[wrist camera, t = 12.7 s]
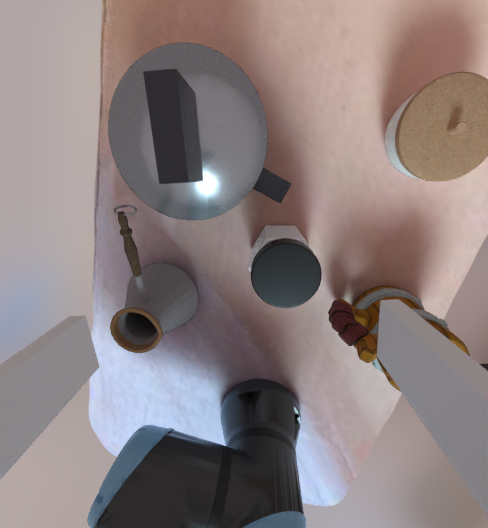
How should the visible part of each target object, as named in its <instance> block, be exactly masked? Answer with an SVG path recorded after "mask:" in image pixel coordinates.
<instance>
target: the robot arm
mask: <svg viewBox="0 0 488 528" xmlns="http://www.w3.org/2000/svg"><path fill="white" fill-rule="evenodd" d="M377 357H378V359H379V360H380V362H381V363H382V365H383V366H384V367H385V369H386V370H387V372H388V373H389V375H390V376H391V378H392V379H393V380H394V382H395V383H396V385H397V386H398V388H399V389H400V391H401V392H402V393H403V395H404V396H405V398H406V399H407V401H408V402H409V404H410V405H411V406H412V408H413V409H414V411H415V412H416V414H417V415H418V417H419V418H420V419H421V421H422V422H423V424H424V425H425V427H426V428H427V430H428V431H429V432H430V434H431V435H432V437H433V438H434V440H435V441H436V443H437V444H438V445H439V447H440V448H441V450H442V451H443V453H444V454H445V456H446V457H447V458H448V460H449V461H450V463H451V464H452V466H453V467H454V469H455V470H456V471H457V473H458V474H459V476H460V477H461V479H462V480H463V481H464V483H465V485H466V486H467V487H468V489H469V490H470V492H471V493H472V494H473V496H474V498H475V499H476V500H477V502H478V503H479V505H480V506H481V507H482V509H483V511H484V512H485V513H486V515H487V516H488V364H478V363H477V362H476V361H474V360H473V359H472V358H471V357H470V356H469V355H467V354H466V353H465V352H464V351H462V350H461V349H460V348H459V347H457V346H456V345H455V344H454V343H453V342H451V341H450V340H449V339H448V338H446V337H445V336H444V335H443V334H441V333H440V332H439V331H438V330H437V329H435V328H434V327H433V326H432V325H430V324H429V323H428V322H427V321H425V320H424V319H423V318H422V317H421V316H419V315H418V314H417V313H416V312H414V311H413V310H412V309H411V308H409V307H408V306H407V305H406V304H404V303H403V302H402V301H401V300H400V299H393V300H380V313H379V329H378V344H377ZM98 368H99V364H98V360H97V356H96V353H95V349H94V345H93V342H92V338H91V334H90V331H89V327H88V324H87V320H86V317H85V316H70V317H68V318H67V319H65V320H64V321H62V322H61V323H60V324H58V325H57V326H55V327H54V328H52V329H51V330H49V331H48V332H47V333H45V334H44V335H42V336H41V337H39V338H38V339H37V340H35V341H34V342H32V343H31V344H29V345H28V346H27V347H25V348H24V349H22V350H21V351H19V352H18V353H17V354H15V355H14V356H12V357H11V358H9V359H8V360H6V361H5V362H4V363H2V364H1V365H0V480H1V479H2V477H3V476H4V475H5V474H6V473H7V472H8V471H9V469H10V468H11V467H12V466H13V465H14V463H16V461H17V460H18V459H19V458H20V457H21V456H22V455H23V453H24V452H25V451H26V450H27V449H28V448H29V447H30V445H31V444H32V443H33V442H34V441H35V440H36V439H37V437H38V436H39V435H40V434H41V433H42V432H43V430H44V429H45V428H46V427H47V426H48V425H49V424H50V422H51V421H52V420H53V419H54V418H55V417H56V416H57V415H58V413H59V412H60V411H61V410H62V409H63V408H64V407H65V405H66V404H67V403H68V402H69V401H70V400H71V398H72V397H73V396H74V395H75V394H76V393H77V392H78V391H79V389H80V388H81V387H82V386H83V385H84V384H85V383H86V381H87V380H88V379H89V378H90V377H91V376H92V375H93V373H94V372H95V371H96V370H97V369H98ZM221 424H222V429H223V434H224V439H225V444H226V446H223V445H221V444H217V443H214V442H210V441H207V440H204V439H200V438H197V437H194V436H190V435H187V434H184V433H181V432H178V431H175V430H174V429H172V428H169V429H167V428H162V427H158V426H154V425H145V426H143V427H141V428H139V429H138V430H137V431H136V432H135V433H134V434H133V435H132V436H131V438H130V439H129V440H128V442H127V443H126V444H125V446H124V447H123V449H122V450H121V452H120V453H119V455H118V457H117V458H116V461H115V462H114V463H113V465H112V467H111V469H110V471H109V472H108V474H107V476H106V478H105V480H104V482H103V483H102V485H101V487H100V490H99V494H98V495H97V497H96V499H95V501H94V503H93V504H92V507H91V509H90V512H89V515H88V520H87V521H88V525H89V526H90V527H91V528H305V527H306V519H305V516H304V512H303V505H302V497H301V490H300V482H299V475H298V467H297V460H296V452H295V449H296V444H297V439H298V434H299V430H300V425H301V415H300V409H299V404H298V402H297V400H296V398H295V396H294V395H293V394H292V393H291V392H290V391H289V390H288V389H287V388H285V387H284V386H282V385H280V384H278V383H275V382H272V381H268V380H250V381H246V382H243V383H241V384H238V385H237V386H235V387H234V388H232V389H231V390H230V391H229V392H228V393H227V395H226V396H225V398H224V400H223V404H222V410H221Z"/></svg>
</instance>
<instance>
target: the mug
mask: <svg viewBox="0 0 488 528" xmlns="http://www.w3.org/2000/svg"><path fill="white" fill-rule="evenodd" d="M393 299H400V300H401V301H402V302H403V303H404V304H406V305H407V306H408V307H409V308H411V309H412V310H413V311H414V312H416V313H417V314H418V315H419V316H421V317H422V318H423V319H424V320H425V321H427V322H428V323H429V324H430V325H432V326H433V327H434V328H435V329H437V330H438V331H439V332H440V333H441V334H443V335H444V336H445V337H446V338H448V339H449V340H450V341H451V342H453V343H454V344H455V345H456V346H457V347H459V348H460V349H461V350H462V351H464V352H465V353H466V354H467V355H469V353H468V350H467V347H466V346H465V344H464V343H463V342H462V341H461V340H460V339H459V338H458V337H457V336H455V335H454V334H453V333H452V332H450V331H449V329H448V328H447V323H446V322H445V321H444V320H442V319H439V318H437V317H436V316H434V315H433V314H431V313H429V312H427V311H425V310H424V307H423V306H422V304H421V303H422V302H421V300H420V299H419V298H417V297H414V296H413V295H411V294H410V293H408V292H406V291H404V290H401V289H399V288H394V287H391V286H380V287H375V288H373V289H370V290H368V291H366V292H365V293H364V294H363V295H360V296H359V300H356V302H355V304H354V305H353V306H352V305H350V304H349V303H348V302H346V301H344V300H342V299H338V300H335V301H334V302H333V303H332V306H331V308H330V310H329V312H328V313H329V321H330V322H331V324H332V328H333V329H334V330H336V331H337V332H338V333H339V334H338V335H339V336H340V337H341V338H342V340H343V341H344V342H345V343H346V344H348V345H349V346H352V345H353V346H354V347H355V348H357V352H358V356H359V358H360V359H361V360H363V361H364V362H366V363H370V362H372V361H373V363H372V364H373V366H374V367H375V368H376V369H380V371H382V372H383V373H384V374H385V375H386V377H387V379H388V381H389V382H390V384H391V385H392V386H394V387H395V388H396V389H397V390H399V391H400V389H399V388H398V386H397V385H396V383H395V382H394V380H393V379H392V378H391V376H390V375H389V373H388V372H387V370H386V369H385V367H384V366H383V365H382V363H381V362H380V360H379V359H378V357H377V344H378V329H379V313H380V300H393ZM469 356H470V355H469Z"/></svg>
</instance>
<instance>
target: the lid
mask: <svg viewBox="0 0 488 528" xmlns="http://www.w3.org/2000/svg"><path fill="white" fill-rule="evenodd" d="M108 125H109V140H110V146H111V151H112V155H113V158H114V160H115V163H116V166H117V168H118V170H119V172H120V174H121V176H122V178H123V179H124V181H125V182H126V184H127V185H128V186H129V188H130V189H131V190H132V191H133V192H134V194H135V195H136V196H137V197H138V198H140V199H141V200H142V201H143V202H144V203H145V204H147V205H148V206H149V207H151V208H153V209H154V210H156V211H158V212H160V213H162V214H164V215H167V216H170V217H173V218H177V219H183V220H203V219H208V218H212V217H216V216H218V215H221V214H223V213H225V212H227V211H229V210H230V209H232V208H233V207H235V206H236V205H237V204H239V203H240V202H241V201H242V200H243V199H244V198H245V197H246V196H247V195H248V193H249V192H250V191H251V189H252V188H253V187H254V185H255V183H256V182H257V180H258V178H259V176H260V173H261V171H262V169H263V165H264V162H265V158H266V152H267V146H268V129H267V120H266V116H265V111H264V108H263V105H262V102H261V99H260V97H259V95H258V93H257V91H256V88H255V87H254V85H253V84H252V82H251V81H250V79H249V77H248V76H247V75H246V74H245V73H244V72H243V70H242V69H241V68H240V67H239V66H238V65H237V64H235V63H234V62H233V61H232V60H231V59H229V58H228V57H226V56H225V55H224V54H222V53H220V52H218V51H216V50H214V49H212V48H209V47H206V46H203V45H199V44H193V43H174V44H168V45H164V46H161V47H158V48H156V49H154V50H152V51H150V52H148V53H146V54H145V55H143V56H142V57H141V58H139V59H138V60H137V61H136V62H135V63H134V64H133V65H132V66H131V67H130V68H129V69H128V70H127V71H126V73H125V74H124V76H123V77H122V78H121V80H120V82H119V84H118V86H117V88H116V90H115V93H114V96H113V99H112V102H111V107H110V112H109V122H108Z"/></svg>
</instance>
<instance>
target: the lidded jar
mask: <svg viewBox="0 0 488 528" xmlns="http://www.w3.org/2000/svg"><path fill="white" fill-rule="evenodd" d="M384 145H385V152H386V155H387V158H388V160H389V162H390V163H391V165H392V166H393V167H394V168H395V169H396V170H397V171H399V172H400V173H402V174H404V175H406V176H408V177H412V178H415V179H422V180H427V181H448V180H452V179H456V178H458V177H461V176H463V175H465V174H467V173H469V172H470V171H472V170H473V169H475V168H476V167H477V166H478V165H479V164H481V163H482V162H483V161H484V160H485V158H486V157H487V156H488V79H486V78H484V77H483V76H481V75H478V74H475V73H470V72H457V73H451V74H448V75H445V76H442V77H440V78H438V79H436V80H434V81H432V82H431V83H429V84H427V85H426V86H424V87H423V88H422V89H420V90H419V91H417V92H416V93H414V94H413V95H412V96H411V97H409V98H408V99H407V100H406V101H405V102H404V103H403V104H402V105H401V106H400V107H399V108H398V109H397V111H396V112H395V114H394V115H393V116H392V118H391V120H390V122H389V124H388V127H387V130H386V134H385V141H384Z"/></svg>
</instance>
